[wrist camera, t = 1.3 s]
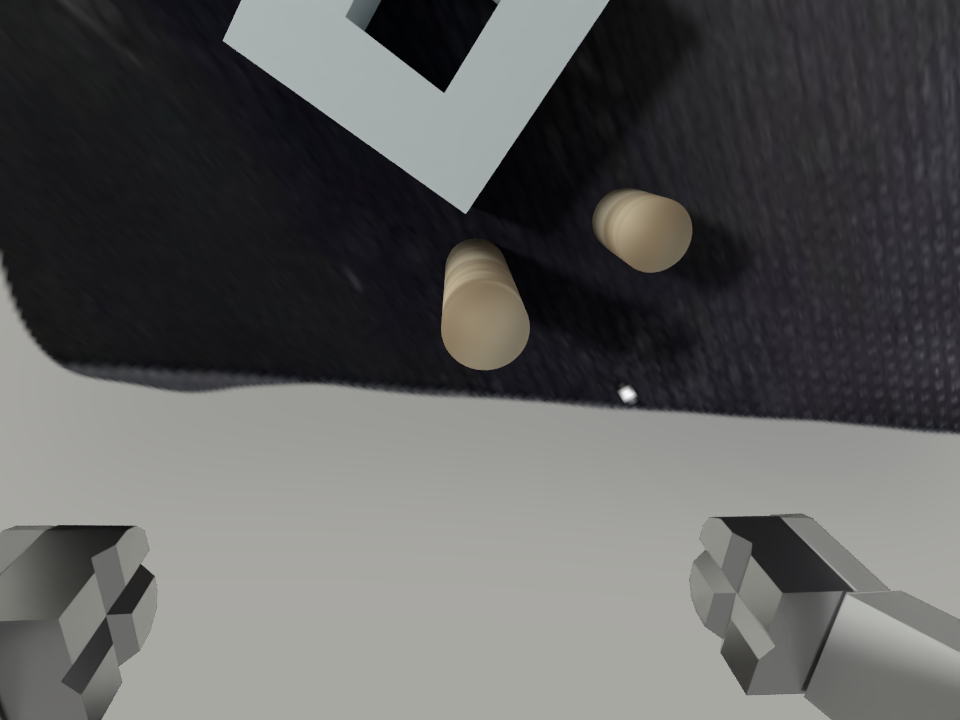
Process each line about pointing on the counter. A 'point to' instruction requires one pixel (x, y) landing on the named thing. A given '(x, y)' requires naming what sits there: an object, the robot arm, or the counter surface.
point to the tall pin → (482, 307)
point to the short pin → (642, 228)
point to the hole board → (418, 80)
